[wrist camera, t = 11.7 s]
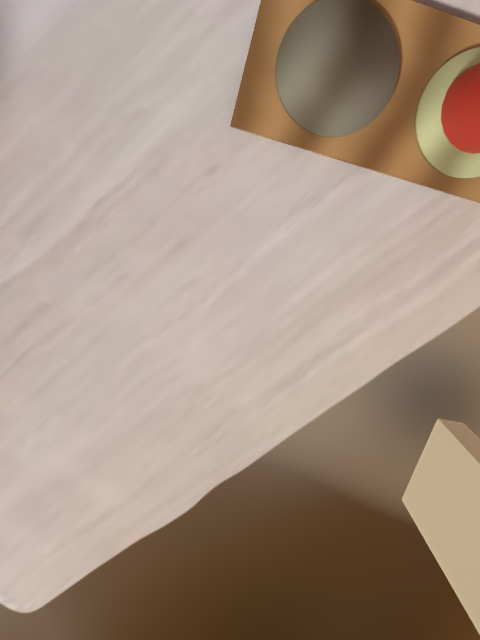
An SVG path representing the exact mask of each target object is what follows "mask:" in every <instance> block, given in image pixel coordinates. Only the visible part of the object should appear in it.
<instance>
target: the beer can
mask: <svg viewBox="0 0 480 640" xmlns="http://www.w3.org/2000/svg"><path fill="white" fill-rule="evenodd" d="M441 123H442V127H443V131H444V134H445V135H446V137H447V138H448V140H449V142H450V143H451V144H452V145H453V146H455V147H456V148H457V149H459V150H460V151H463V152H467V153H471V154H476V153H480V63H478V64H476V65H473V66H471V67H469V68H467V69H466V70H465V71H463V72H462V73H461V74H460V75H459V76H458V77H457V78H455V80H454V81H453V83H452V84H451V86H450V87H449V89H448V90H447V92H446V95H445V98H444V101H443V104H442V110H441Z"/></svg>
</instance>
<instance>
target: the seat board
mask: <svg viewBox="0 0 480 640" xmlns="http://www.w3.org/2000/svg"><path fill="white" fill-rule="evenodd" d="M478 63H480V25H479V24H476V23H474V22H471V21H468V20H465V19H462V18H460V17H457V16H454V15H451V14H449V13H446V12H443V11H440V10H437V9H435V8H432V7H429V6H426V5H424V4H421V3H418V2H415V1H412V0H261V3H260V7H259V11H258V15H257V19H256V23H255V28H254V32H253V36H252V40H251V44H250V48H249V52H248V56H247V60H246V64H245V68H244V72H243V76H242V80H241V85H240V89H239V93H238V97H237V101H236V105H235V109H234V113H233V117H232V121H231V126H230V127H233V128H237V129H240V130H243V131H246V132H250V133H253V134H256V135H260V136H263V137H266V138H269V139H273V140H276V141H279V142H282V143H286V144H289V145H292V146H295V147H299V148H302V149H305V150H308V151H312V152H315V153H318V154H322V155H325V156H328V157H331V158H335V159H338V160H341V161H344V162H348V163H351V164H354V165H357V166H361V167H364V168H367V169H370V170H374V171H377V172H380V173H384V174H387V175H390V176H393V177H397V178H400V179H403V180H406V181H410V182H413V183H416V184H419V185H423V186H426V187H429V188H433V189H436V190H439V191H442V192H446V193H449V194H452V195H455V196H459V197H462V198H465V199H468V200H472V201H475V202H478V203H480V153H476V154H471V153H467V152H463V151H460V150H459V149H457V148H456V147H455V146H453V145H452V144H451V143H450V142H449V140H448V138H447V137H446V135H445V134H444V131H443V127H442V123H441V110H442V104H443V101H444V98H445V95H446V92H447V90H448V89H449V87H450V86H451V84H452V83H453V81H454V80H455V78H457V77H458V76H459V75H460V74H461V73H462V72H463V71H465V70H466V69H467V68H469V67H471V66H473V65H476V64H478Z"/></svg>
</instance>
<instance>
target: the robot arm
mask: <svg viewBox="0 0 480 640" xmlns="http://www.w3.org/2000/svg"><path fill="white" fill-rule="evenodd" d="M402 501H403V503H404V504H405V506H406V508H407V510H408V511H409V513H410V515H411V516H412V518H413V520H414V522H415V523H416V525H417V527H418V529H419V530H420V532H421V534H422V535H423V537H424V539H425V541H426V542H427V544H428V546H429V548H430V549H431V551H432V553H433V555H434V556H435V558H436V560H437V562H438V563H439V565H440V567H441V568H442V570H443V572H444V574H445V575H446V577H447V579H448V581H449V582H450V584H451V586H452V588H453V589H454V591H455V593H456V594H457V596H458V598H459V600H460V601H461V603H462V605H463V606H464V608H465V610H466V612H467V614H468V615H469V617H470V619H471V620H472V622H473V624H474V626H475V627H476V629H477V631H478V632H479V634H480V439H479V438H478V437H477V436H476V435H475V434H474V433H473V432H472V431H471V430H470V429H469V428H468V427H467V426H466V425H465V424H464V423H460V422H454V421H449V420H444V419H437V422H436V424H435V426H434V428H433V430H432V433H431V435H430V437H429V439H428V442H427V444H426V446H425V448H424V451H423V453H422V455H421V457H420V459H419V462H418V464H417V466H416V468H415V471H414V473H413V475H412V477H411V480H410V482H409V484H408V486H407V489H406V491H405V493H404V495H403V497H402Z"/></svg>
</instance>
